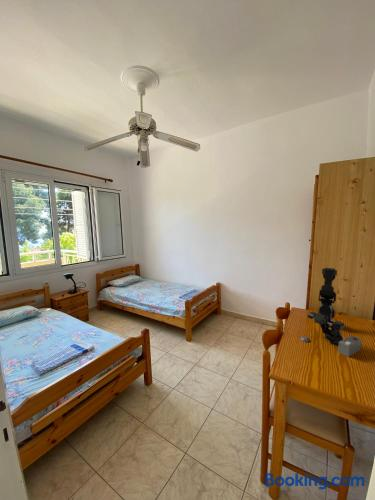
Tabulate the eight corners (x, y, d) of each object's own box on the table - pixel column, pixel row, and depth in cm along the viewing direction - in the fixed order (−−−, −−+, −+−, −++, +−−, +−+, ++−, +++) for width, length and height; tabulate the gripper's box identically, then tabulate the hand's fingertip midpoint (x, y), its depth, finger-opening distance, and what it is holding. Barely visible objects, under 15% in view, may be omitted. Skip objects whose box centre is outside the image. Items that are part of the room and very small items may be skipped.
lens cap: (303, 337, 129) (303, 335, 128) (311, 341, 124) (311, 339, 124) (298, 339, 126) (298, 337, 126) (306, 343, 122) (306, 341, 122)
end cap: (337, 346, 119) (345, 339, 116) (325, 338, 121) (332, 330, 119) (334, 338, 127) (342, 330, 125) (323, 330, 130) (330, 322, 127)
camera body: (349, 344, 120) (350, 333, 119) (360, 349, 115) (361, 338, 114) (336, 351, 114) (337, 339, 113) (348, 356, 109) (349, 345, 108)
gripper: (302, 306, 128) (301, 329, 130) (335, 318, 111) (333, 345, 114) (313, 302, 133) (311, 325, 135) (346, 313, 116) (344, 339, 119)
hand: (324, 333), depth 125 cm, fingers closed
